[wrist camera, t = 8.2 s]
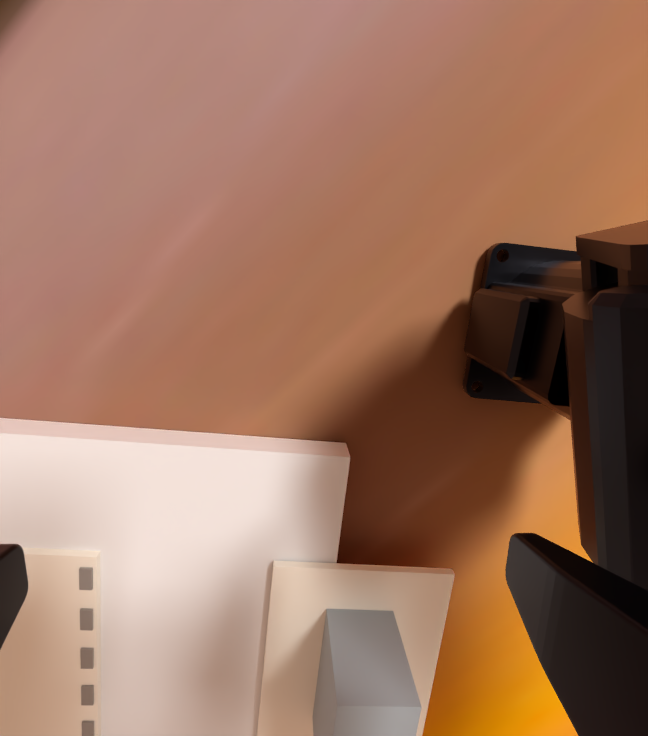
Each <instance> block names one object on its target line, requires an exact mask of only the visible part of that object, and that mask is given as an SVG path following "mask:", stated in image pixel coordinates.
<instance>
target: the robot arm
mask: <svg viewBox="0 0 648 736" xmlns="http://www.w3.org/2000/svg"><path fill="white" fill-rule="evenodd" d="M576 248H577V252H576V251H567V250H559V249H551V248H543V247H534V246H526V245H518V244H509V243H498V244H495V245H493V246H491V247H490V249H489V250H488V252H487V256H486V261H485V267H484V272H483V277H482V283H481V288H480V289H479V290H478V291H477V292H475V294H474V298H473V303H472V309H471V314H470V320H469V325H468V331H467V336H466V341H465V347H464V351H465V352H466V353H467V355H468V358H467V363H466V368H465V374H464V379H463V389H464V391H465V392H466V393H467V394H468V395H470V396H471V397H474V398H482V399H494V400H506V401H517V402H529V403H541V404H544V405H545V406H547V407H549V408H551V409H552V410H554V411H556V412H557V413H559V414H561V415H562V416H564V417H566V418H568V419H569V420H571V432H572V446H573V459H574V473H575V486H576V500H577V513H578V525H579V532H580V539H581V545H582V547H583V548H584V550H585V551H586V553H587V554H588V556H589V557H590V558H591V560H592V561H593V563H592V562H590V561H588V560H586V559H584V558H582V557H580V556H578V555H577V554H575V553H573V552H571V551H569V550H567V549H565V548H563V547H561V546H559V545H557V544H555V543H553V542H551V541H549V540H547V539H545V538H543V537H541V536H539V535H537V534H535V533H515V534H514V535H512V536H511V538H510V542H509V549H508V556H507V564H506V580H507V584H508V586H509V589H510V591H511V594H512V596H513V598H514V601H515V603H516V606H517V608H518V611H519V613H520V615H521V618H522V620H523V623H524V625H525V628H526V630H527V632H528V635H529V637H530V640H531V642H532V645H533V647H534V649H535V652H536V654H537V656H538V658H539V661H540V663H541V665H542V667H543V669H544V671H545V673H546V675H547V677H548V679H549V681H550V683H551V684H552V686H553V688H554V690H555V692H556V694H557V696H558V698H559V700H560V701H561V703H562V705H563V707H564V709H565V711H566V713H567V715H568V717H569V718H570V720H571V722H572V724H573V726H574V728H575V730H576V732H577V734H578V736H648V221H643V222H639V223H634V224H629V225H625V226H620V227H616V228H611V229H606V230H602V231H597V232H593V233H588V234H583V235H579V236H576ZM500 250H503V252H504V259H503V260H502V261H501V262H499V261H498V259H497V253H498V252H499V251H500ZM476 381H479V387H478V388H477V389H475V390H472V384H473V383H474V382H476ZM27 592H28V576H27V570H26V563H25V556H24V551H23V548H22V547H21V546H20V545H19V544H0V650H1V648H2V646H3V644H4V641H5V639H6V637H7V635H8V633H9V631H10V629H11V627H12V625H13V623H14V621H15V619H16V617H17V615H18V613H19V611H20V609H21V607H22V605H23V603H24V601H25V598H26V596H27Z"/></svg>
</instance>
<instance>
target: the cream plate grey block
mask: <svg viewBox="0 0 648 736" xmlns="http://www.w3.org/2000/svg"><path fill="white" fill-rule="evenodd" d="M454 577H455V574H454V572H453V570H452V569H451V568H429V567H407V566H385V565H363V564H340V563H318V562H296V561H274V562H273V572H272V582H271V593H270V603H269V614H268V624H267V634H266V645H265V655H264V666H263V676H262V686H261V697H260V707H259V718H258V728H257V736H422V734H423V729H424V724H425V720H426V715H427V710H428V705H429V700H430V695H431V690H432V685H433V680H434V675H435V670H436V665H437V660H438V655H439V650H440V646H441V641H442V636H443V631H444V626H445V621H446V616H447V611H448V606H449V601H450V596H451V591H452V586H453V581H454Z"/></svg>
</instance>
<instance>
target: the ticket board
mask: <svg viewBox="0 0 648 736" xmlns="http://www.w3.org/2000/svg"><path fill="white" fill-rule="evenodd" d="M349 464H350V454H349V451H348V448H347V445H346V443H341V442H327V441H313V440H299V439H285V438H271V437H258V436H244V435H230V434H216V433H202V432H188V431H174V430H161V429H147V428H133V427H119V426H105V425H91V424H77V423H64V422H50V421H36V420H22V419H8V418H0V544H19V545H20V546H21V547H22V548H23V551H24V556H25V563H26V570H27V576H28V592H27V596H26V598H25V601H24V603H23V605H22V607H21V609H20V611H19V613H18V615H17V617H16V619H15V621H14V623H13V625H12V627H11V629H10V631H9V633H8V635H7V637H6V639H5V641H4V644H3V646H2V648H1V650H0V736H257V728H258V718H259V707H260V697H261V686H262V676H263V666H264V655H265V645H266V634H267V624H268V614H269V603H270V593H271V582H272V572H273V562H274V561H296V562H318V563H336V562H337V555H338V547H339V540H340V532H341V525H342V517H343V510H344V502H345V494H346V487H347V479H348V472H349Z"/></svg>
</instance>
